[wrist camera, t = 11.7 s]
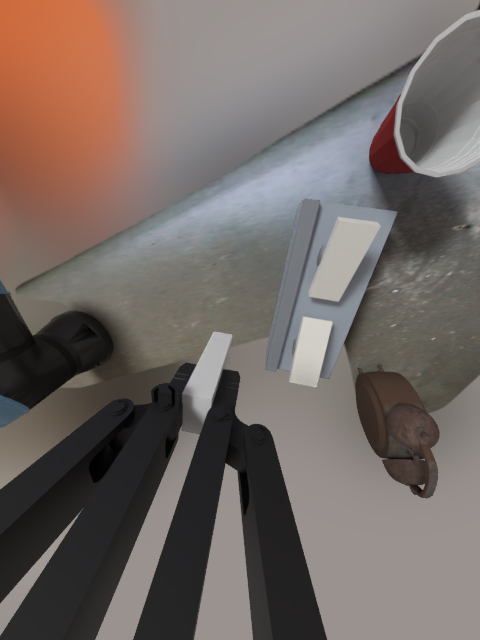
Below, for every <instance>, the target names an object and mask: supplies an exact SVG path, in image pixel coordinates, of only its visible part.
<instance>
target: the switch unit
mask: <svg viewBox="0 0 480 640" xmlns="http://www.w3.org/2000/svg"><path fill="white" fill-rule="evenodd" d="M397 213H398V212H397V211H390V210H382V209H374V208H366V207H358V206H351V205H343V204H335V203H327V202H320V200H312V199H304V200H302V201H301V202H300V203H299V205H298V209H297V214H296V219H295V223H294V228H293V232H292V237H291V241H290V246H289V250H288V255H287V259H286V264H285V268H284V273H283V278H282V282H281V287H280V291H279V296H278V300H277V305H276V309H275V314H274V318H273V323H272V327H271V332H270V337H269V341H268V346H267V353H266V367H265V369H266V370H269V371H275V372H276V370H277V369H282V370H286V371H290V369H291V365H292V360H293V356H294V355H293V354H292V347H293V342H294V339H295V338H296V339H297V338H298V333H299V329H300V324H301V320H302V316H307V317H312V318H318V319H324V320H329V321H332V322H333V323H332V327H331V331H330V335H329V339H328V343H327V347H326V351H325V355H324V359H323V364H322V368H321V372H320V376H319V377H321V378H326V379H329V378H330V375H331V372H332V370H333V368H334V365H335V363H336V360H337V358H338V356H339V353H340V351H341V348H342V346H343V344H344V341H345V339H346V336H347V334H348V331H349V329H350V327H351V324H352V322H353V319H354V317H355V314H356V312H357V310H358V307H359V305H360V302H361V300H362V297H363V295H364V293H365V290H366V288H367V285H368V283H369V280H370V278H371V276H372V273H373V271H374V268H375V266H376V264H377V261H378V259H379V256H380V254H381V251H382V249H383V247H384V244H385V242H386V239H387V237H388V234H389V232H390V230H391V227H392V225H393V222H394V220H395V217H396V215H397ZM338 217H343V218H351V219H358V220H366V221H373V222H378V223H379V225H380V226H381V227H380V229H379V230H378V232H377V234H376V236H375V238H374V239H373V241H372V243H371V245H370V246H369V248H368V250H367V252H366V254H365V255H364V257H363V259H362V261H361V263H360V264H359V266H358V268H357V270H356V272H355V273H354V275H353V277H352V279H351V281H350V282H349V284H348V286H347V288H346V289H345V291H344V293H343V295H342V297H341V298H340V300H339V302H338V301H332V300H326V299H320V298H314V297H309V289H310V287H311V284H312V281H313V279H314V276H315V274H316V271H317V269H318V266H317V258H318V254H319V251H320V249H321V247H322V245H326V246H327V243H328V241H329V238H330V236H331V233H332V231H333V228H334V226H335V223H336V221H337V218H338Z"/></svg>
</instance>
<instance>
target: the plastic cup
mask: <svg viewBox="0 0 480 640" xmlns="http://www.w3.org/2000/svg"><path fill="white" fill-rule="evenodd" d="M369 159H370V162H371V165H372V167H373V168H374V169H376V170H377V171H378V172H381V173H386V174H389V173H395V174H398V173H411V172H416V173H420V174H424V175H428V176H432V177H442V176H446V175H451V174H456V173H461V172H463V171H465V170H466V169H468V168H470V167H471V166H473V165H475V164H477V163H478V162H480V10H478V11H475V12H472V13H469V14H466V15H464V16H463V17H462V18H461V19H459V20H458V21H457V22H455V23H454V24H453V25H452V26H450V27H449V28H448V29H446V30H445V31H444V32H442V33H441V34H440V35H439V36H437V37H436V38H435V39H434V41H433V42H432V43H431V45H430V46H429V47H428V49H427V50H426V51H425V53H424V54H423V55H422V57H421V58H420V59H419V61H418V62H417V63H416V65H415V66H414V68H413V69H412V70H411V72H410V74H409V76H408V79H407V81H406V84H405V86H404V88H403V91H402V93H401V94H400V96H399V97H398V100H397V102H396V103H395V105H394V106H393V108H392V109H391V111H390V112H389V114H388V115H387V117H386V118H385V120H384V121H383V123H382V124H381V126H380V128H379V130H378V132H377V133H376V135H375V136H374V139H373V141H372V144H371V146H370V153H369Z"/></svg>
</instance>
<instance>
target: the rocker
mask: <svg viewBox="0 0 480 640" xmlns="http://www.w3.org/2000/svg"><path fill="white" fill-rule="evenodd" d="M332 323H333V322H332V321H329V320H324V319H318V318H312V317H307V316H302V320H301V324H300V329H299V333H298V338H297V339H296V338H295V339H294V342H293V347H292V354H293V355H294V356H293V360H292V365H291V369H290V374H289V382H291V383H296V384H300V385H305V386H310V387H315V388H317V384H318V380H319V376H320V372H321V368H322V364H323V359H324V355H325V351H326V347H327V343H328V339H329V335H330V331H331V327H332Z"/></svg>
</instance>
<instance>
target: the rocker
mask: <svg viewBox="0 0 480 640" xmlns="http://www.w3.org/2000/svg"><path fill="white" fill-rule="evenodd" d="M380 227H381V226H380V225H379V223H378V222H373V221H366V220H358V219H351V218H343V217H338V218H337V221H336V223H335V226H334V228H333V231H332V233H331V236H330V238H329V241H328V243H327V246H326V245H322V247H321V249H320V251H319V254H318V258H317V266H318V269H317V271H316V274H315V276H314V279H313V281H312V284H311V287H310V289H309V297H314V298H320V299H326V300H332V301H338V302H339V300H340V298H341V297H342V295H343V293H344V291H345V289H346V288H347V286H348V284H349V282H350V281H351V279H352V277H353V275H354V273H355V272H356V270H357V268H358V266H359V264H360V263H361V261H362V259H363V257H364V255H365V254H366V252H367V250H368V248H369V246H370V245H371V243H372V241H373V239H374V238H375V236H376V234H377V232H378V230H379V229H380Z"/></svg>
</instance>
